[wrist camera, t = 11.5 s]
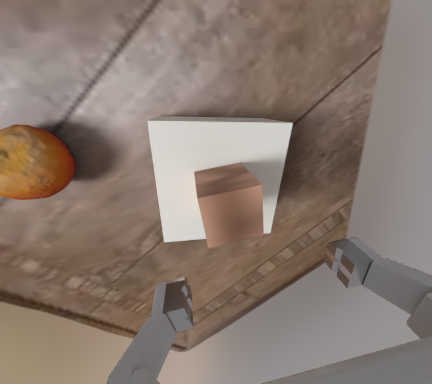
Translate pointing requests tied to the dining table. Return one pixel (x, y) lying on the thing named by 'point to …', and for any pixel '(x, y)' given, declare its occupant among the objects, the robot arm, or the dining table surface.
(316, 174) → the dining table surface
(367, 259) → the robot arm
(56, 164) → the fruit
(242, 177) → the terracotta block
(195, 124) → the cream box
